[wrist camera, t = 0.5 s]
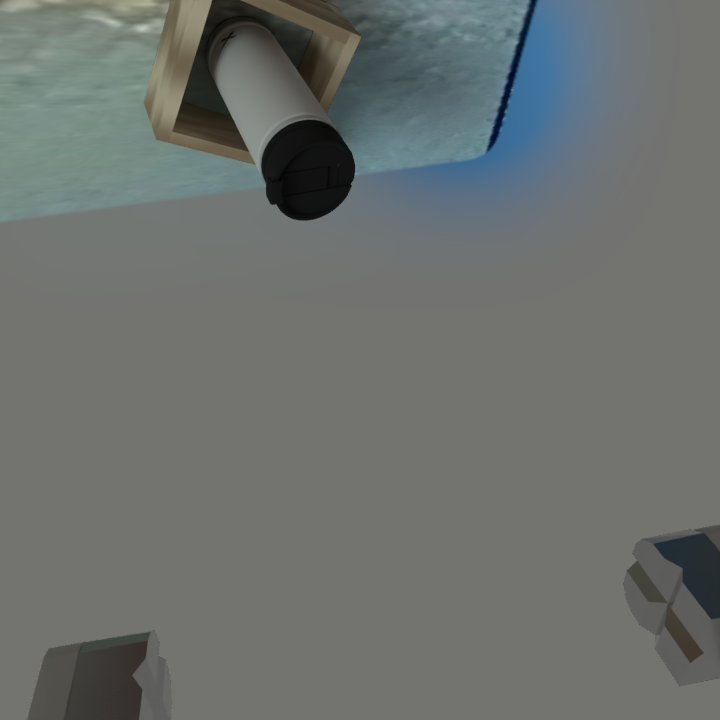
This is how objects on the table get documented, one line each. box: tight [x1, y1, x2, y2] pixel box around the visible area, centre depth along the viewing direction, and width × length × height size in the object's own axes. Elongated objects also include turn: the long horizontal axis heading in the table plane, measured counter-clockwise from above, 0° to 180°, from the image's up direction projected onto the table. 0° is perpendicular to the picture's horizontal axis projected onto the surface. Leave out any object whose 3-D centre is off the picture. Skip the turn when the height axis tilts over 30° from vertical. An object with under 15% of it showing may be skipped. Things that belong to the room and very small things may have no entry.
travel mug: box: [206, 17, 355, 220], centre depth 46 cm, size 6×7×20 cm
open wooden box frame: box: [144, 0, 361, 165], centre depth 50 cm, size 13×13×6 cm
